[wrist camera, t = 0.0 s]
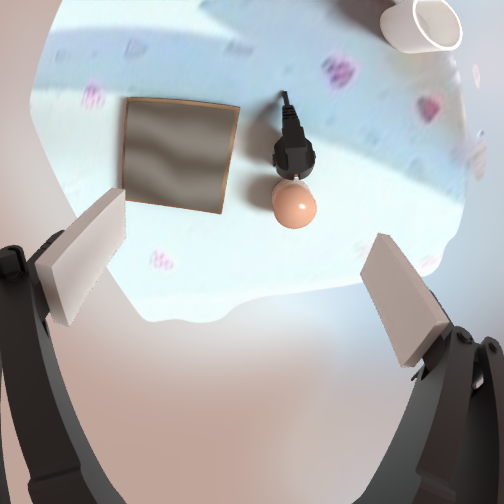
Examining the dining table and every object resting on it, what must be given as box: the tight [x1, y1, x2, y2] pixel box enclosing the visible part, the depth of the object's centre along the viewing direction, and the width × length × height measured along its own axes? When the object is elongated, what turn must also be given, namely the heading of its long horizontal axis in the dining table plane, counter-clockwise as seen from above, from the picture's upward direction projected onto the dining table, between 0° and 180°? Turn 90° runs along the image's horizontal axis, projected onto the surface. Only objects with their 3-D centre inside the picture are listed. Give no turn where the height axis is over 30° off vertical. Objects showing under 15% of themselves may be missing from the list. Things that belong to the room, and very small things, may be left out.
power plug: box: [272, 91, 316, 181], centre depth 37 cm, size 6×8×12 cm
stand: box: [122, 97, 240, 214], centre depth 38 cm, size 16×16×2 cm
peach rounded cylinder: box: [272, 178, 317, 229], centre depth 41 cm, size 6×6×5 cm
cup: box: [380, 0, 462, 53], centre depth 22 cm, size 8×12×10 cm
